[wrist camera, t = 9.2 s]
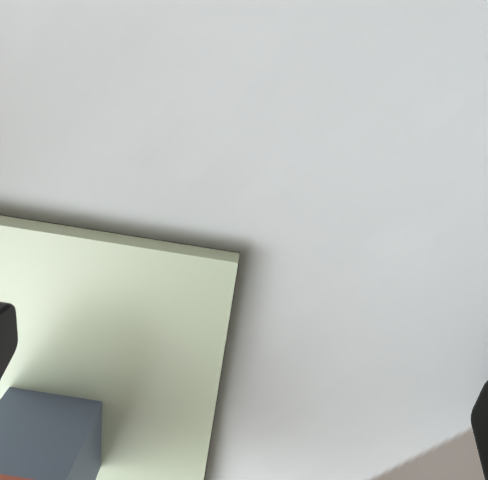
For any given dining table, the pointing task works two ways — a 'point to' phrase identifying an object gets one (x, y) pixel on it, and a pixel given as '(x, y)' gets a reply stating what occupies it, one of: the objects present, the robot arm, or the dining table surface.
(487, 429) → the robot arm
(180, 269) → the build board
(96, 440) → the blue brick
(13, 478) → the red brick
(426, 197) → the dining table surface
